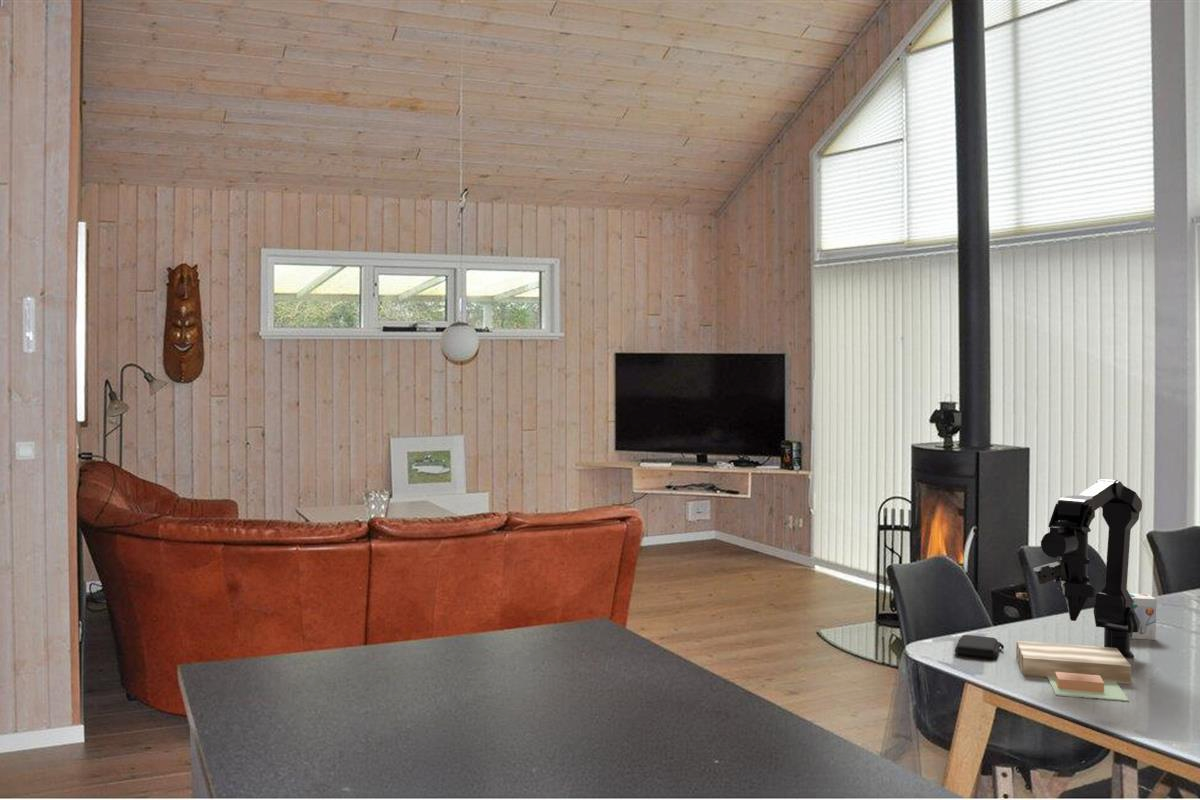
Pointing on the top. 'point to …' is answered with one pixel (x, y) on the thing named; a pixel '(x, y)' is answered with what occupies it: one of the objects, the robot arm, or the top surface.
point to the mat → (1110, 691)
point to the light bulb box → (1144, 616)
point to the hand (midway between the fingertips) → (1073, 620)
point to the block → (1079, 681)
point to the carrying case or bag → (978, 647)
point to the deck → (1072, 660)
